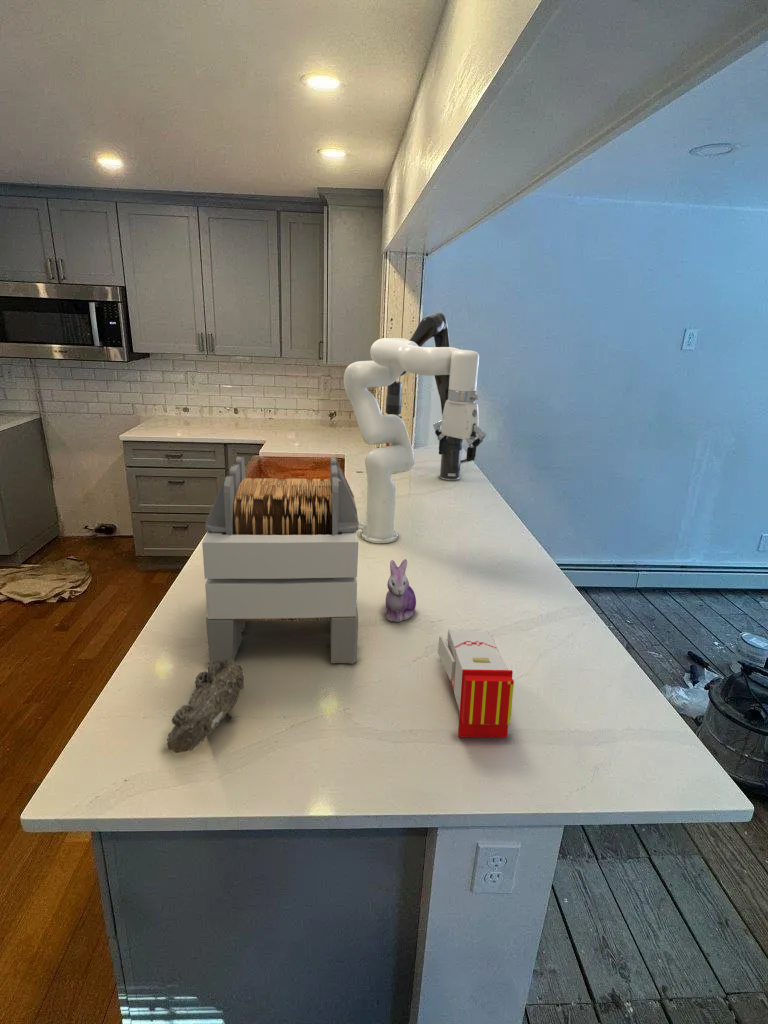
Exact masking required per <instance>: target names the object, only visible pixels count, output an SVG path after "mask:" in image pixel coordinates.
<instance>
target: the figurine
mask: <svg viewBox="0 0 768 1024" xmlns="http://www.w3.org/2000/svg"><path fill="white" fill-rule="evenodd" d="M407 567H408V559H406V558H404V559H403V560H402V561H401V563H400V565H399V566H398V565H397V563H396V562H395V561H394V560H393V559H391V560H390V561H389V570H390V576H389V578H388V579H387V589H388V591H387V592H386V594H385V595H386V596H385V607H384V615H385V616H386V620H387V621H391V622H395V623H400V622H402V621H406V620H409V619H410V618H411V617H413V616H414V615H415V610H416V606H417V597H416V593H415V591H414V590H413V587H411V586H410V582H409V579H408V577H407V574H406V571H407Z"/></svg>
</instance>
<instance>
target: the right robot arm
mask: <svg viewBox="0 0 768 1024" xmlns="http://www.w3.org/2000/svg"><path fill="white" fill-rule="evenodd" d="M412 334H413V335H411V337H410V339H408V340H409V341H413V342H415V343H416V344H417V345H418V346H419V347H423V345H424V344H425V343H426V342H427V341H429V340H431V339H432V338H433V340H434V347H451V345H450V335H449V327H448V321H447V318H446V316H445V314H444V313H443V312H441V311H435V312H432V313H430V314H427V315H425V316H424V317H422V319H421V320H420V321H419V323H418V325H417V327H416V329H415V331H414V333H412ZM406 374H407V372H406V371H404V372H403V373H402V374H401V375H400V376H399V377H402V376H404V375H406ZM433 376H434V381H435V384H436V389H437V392H438V396H439V399H440V408H441V409H440V410H441V417H442V416H443V410H444V406H445V403H446V400H448V390H449V378H450V375H433ZM386 387H387V388H386V397H385V414H386V415H388V414H394V415H397V416H399V417H400V418H401V419H402V418H403V417H402V416H401V414H402V406H403V405H402V403H403V396H402V395H403V394H402V393H403V384H402V382H401V381H398V380H396V381H395V382H394V383H392V384H391V385H389V386H386ZM402 420H403V419H402ZM446 439H447V440H448V447H447V453H446V454H441V455H440V458H441V459H440V469H439V479H441V480H444V481H452V482H453V481H454V482H455V481H458V480H460V475H461V473H460V472H461V464H462V463H465V462H467V461H466V458H465V459H462V453H463V452H462V451H463V441H464V439H459V438H455V437H450V436H448V437H447V438H446Z"/></svg>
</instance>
